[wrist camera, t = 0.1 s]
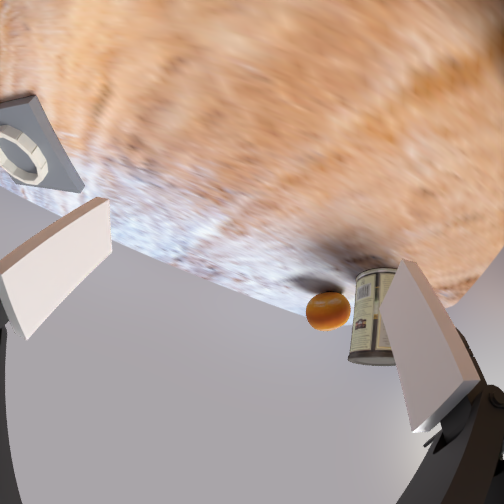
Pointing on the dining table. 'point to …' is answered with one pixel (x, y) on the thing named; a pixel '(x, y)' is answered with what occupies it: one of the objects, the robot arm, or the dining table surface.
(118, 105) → the dining table surface
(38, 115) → the ring board
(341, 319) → the fruit
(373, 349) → the coffee can
